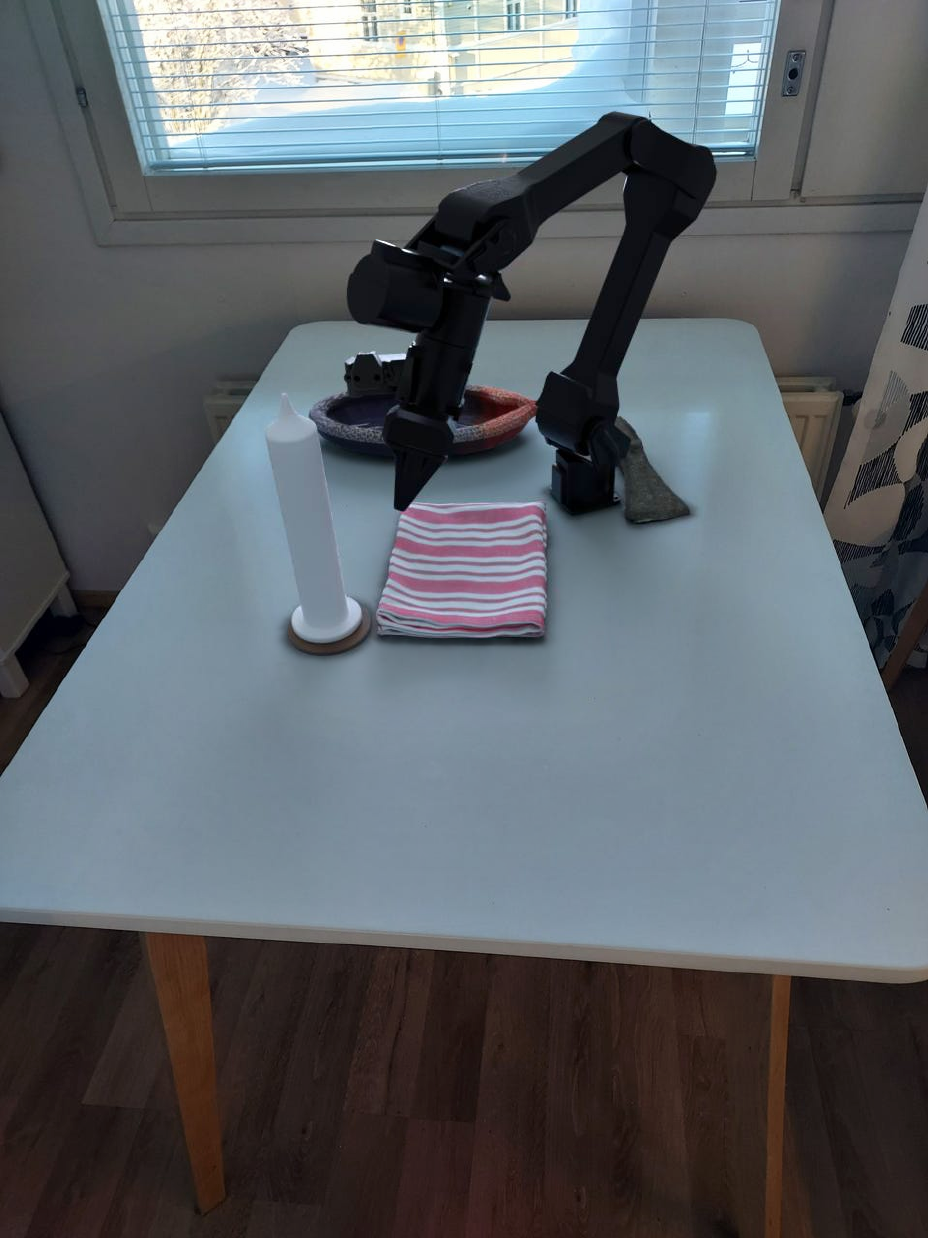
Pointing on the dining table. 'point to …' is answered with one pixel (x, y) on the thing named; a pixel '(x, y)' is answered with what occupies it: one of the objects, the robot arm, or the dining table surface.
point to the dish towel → (467, 571)
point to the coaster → (337, 645)
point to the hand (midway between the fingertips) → (404, 496)
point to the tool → (645, 484)
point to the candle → (309, 529)
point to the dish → (362, 419)
